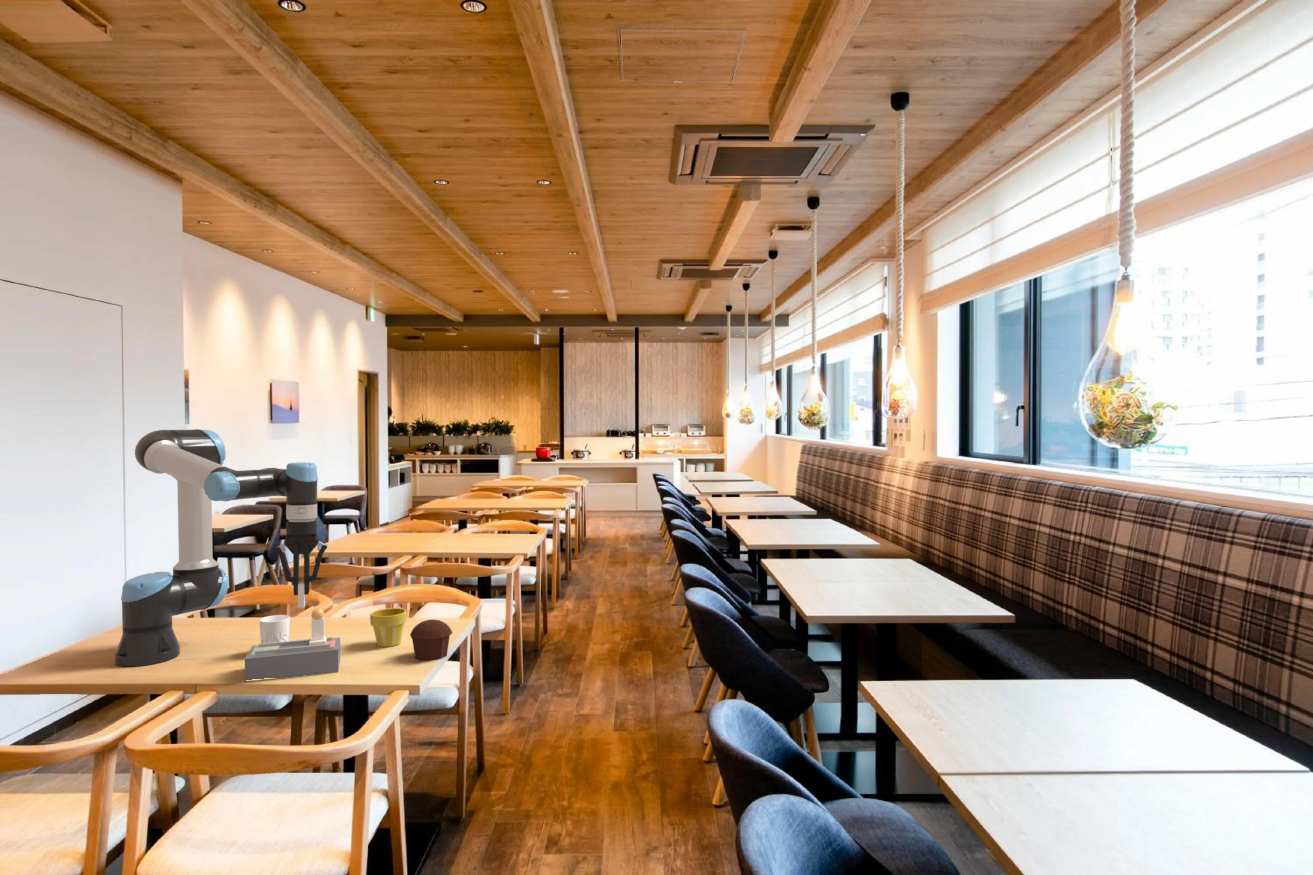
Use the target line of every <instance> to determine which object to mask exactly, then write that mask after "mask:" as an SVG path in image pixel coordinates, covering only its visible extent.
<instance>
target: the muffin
mask: <svg viewBox="0 0 1313 875" xmlns="http://www.w3.org/2000/svg"><path fill="white" fill-rule="evenodd" d="M452 634H453V630H452V629H451V626H449V625H448V624H447V623H446V622H444V621H443V620H440V619H426V620H423V621H421V622H419V623H417V624H416V625H415V626H414V628H412V630H411V632H410V634H409V635H410V638H411V641H412V645H413V647H412V648H413V652H414V658H415V659H416V660H419V661H421V662H422V661H428V662H431V661H438V660H441V659H444V658H446V657H447V656H448V652H449V651H448V650H449V649H448V647H449V642H450V636H451V635H452Z"/></svg>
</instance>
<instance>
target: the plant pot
mask: <svg viewBox="0 0 1313 875" xmlns="http://www.w3.org/2000/svg"><path fill="white" fill-rule="evenodd" d="M369 614H370V615H369V617H370V619H369V620H370V622H369V623H370V626H372V628H373V632H374V635H375V639H376V644H377V646H378V647H383V648H390V647H396V646H398V645H400V644H401V643H402V637H403V633H404V627H405V624H406V622H407V617H408V615H407V610H406V608H401V607H390V608H389V607H388V608H387V607H386V608H381V609H378V610H377V609H376V610H374V611H372V612H370V613H369Z"/></svg>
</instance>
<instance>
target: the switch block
mask: <svg viewBox="0 0 1313 875" xmlns="http://www.w3.org/2000/svg"><path fill="white" fill-rule="evenodd" d="M310 639H311V638H308V639H307V638H306V639H296V640H289V641H284V642H273V643H263V644H261V643H259V644H258V645H252V646H250V649H249V651H248V652H247V654H246V656H245V657H244V681H245V680H252V679H264V678H279V679H285V678H286V677H288V678H296V677H295V676H297V677H304V676H303V675H306V676H314V675H313V674H315V675H322V674H321V673H324V674H332V672H333V673H339V669H340V664H341V637H334V638H333V637H332V636H329V637H327V642H326V644H320V645H310V646H309V642H310Z"/></svg>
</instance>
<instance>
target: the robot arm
mask: <svg viewBox="0 0 1313 875" xmlns="http://www.w3.org/2000/svg"><path fill="white" fill-rule="evenodd" d="M226 452H227V451H226V446H225V444H224V441H223V439H222V438H221V437H220V436H219V434H218V433H217V432H214V431H213V430H209V429H198V428H196V429H158V430H154V431H151V432H149V433H147V434H145V435H144V436H142V437H141V438H140V439H139V440H138V442H137V444H136V445H135V448H134V457H135V459H136V461H137V463H138V465H140V466H141V467H142V468H143V469H145V470H147V471H149V472H152V473H155V474H160V475H161V474H166V475H170V476H171V477H172V478H174V479H175V481H176V482H177V483H176V484H177V486H176V487H177V528H178V529H177V530H178V533H177V534H178V537H177V538H178V561H177V563H176V564H175V565H174V566H173V567H172V573H171V572H169V571H156V572H150V573H145V574H140V575H137V576H134V577H132V578H130V579H128V580H127V581H125V582H124V584H123V585H122V591H121V598H120V599H121V609H122V610H121V614H122V615H121V617H122V618H121V619H122V620H121V624H122V636H121V638H120V641H119V644H118V646H117V649H116V651H115V654H114V664H115V665H117V666H121V667H140V666H148V665H154V664H155V665H156V664H160V663H163V662H166V661H169V660H173V659H175V658H177V657H178V656H179V655H180V654H181V646H180V643H179V640H178V638H177V636H176V633H175V631H174V628H173V617H174V616H178V615H183V614H188V613H192V612H195V611H204V610H207V609H210V608H212V607H216V606H218V605H220V604H221V602H222V601H223V600H224V599H225V597H226V595H227V593H228V588H229V579H228V578H229V577H228V576H227V575H226V574H227V573H226V572H225V570H224V569H223V568H221V567H219V566H220V565H219V562H217V561H216V560H215V559H214V558H213V557H214V556H213V511H212V505H213V504H212V501H213V502H229V501H236V500H237V501H238V500H239V501H240V500H246V499H249V500H250V499H256V498H257V499H258V498H259V499H260V498H266V497H267V498H268V497H269V498H270V497H284V498H285V497H286V504H285V505H286V506H285V509H286V510H285V516H286V520H287V521H286V522H285V524H286V525H285V532H286V533H285V539H284V541H283V543H281V544H280V545H277V546H275V549H274V550H275V552H276V553H277V555H278V556H279V560H280V564H281V567H282V570H283V574H284V578H285V582H287V583H292V584H293V590H292V591H293V596H297V609H304V608H305V607H306V595H307V596H308V595H309V593H310V586H311V585H310V583H311V582H312V581H316V580H317V578H318V575H319V574H318V573H319V570H320V567H321V563H322V559H323V555H324V553H325V551H327V548H328V544H327V543H323V542H321V541H320V539H319V537H318V521H317V520H316V519H317V518H318V479H319V477H318V467H317V465H316V464H315V463H314V462H303V461H302V462H301V461H300V462H288V463H287V464H286V467H285V468H277V467H264V468H260V469H247V470H235V469H232V468H230V467H227V466H225V465H224V462H225V461H226V458H227V456H226V455H227V453H226ZM316 547H317V548H316ZM286 548H287V549H288V550H289V552H290V553H291V554H293V555H292V556H293V557H292V558H293V560H292V562H293V564H292V565H293V569H292V570H293V571H292V572H293V575H292V573H291V570H290V566H289V561H288V558H287V554H286V550H287V549H286ZM315 548H316V549H317V550H318V552H317V555H316V559H315V564H314V567H313V571H312V575H311V559H310V558H311V553H312V552H313V551H314V549H315ZM301 555H303V581H300V556H301Z"/></svg>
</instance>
